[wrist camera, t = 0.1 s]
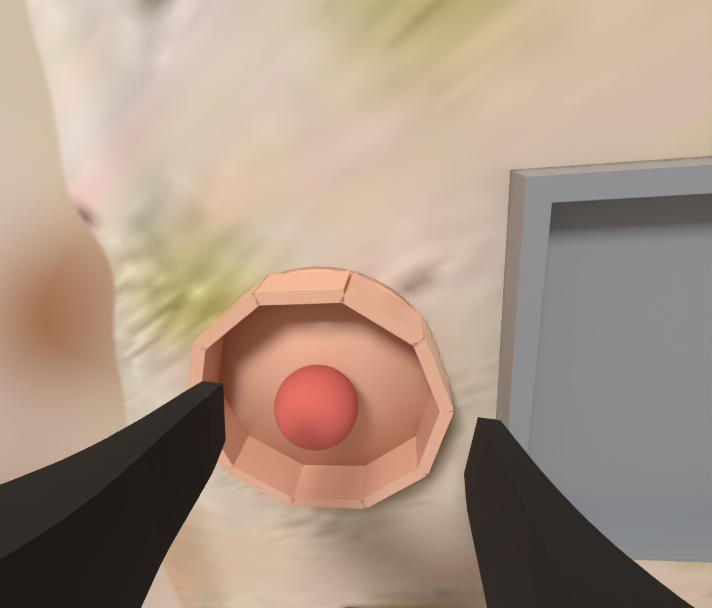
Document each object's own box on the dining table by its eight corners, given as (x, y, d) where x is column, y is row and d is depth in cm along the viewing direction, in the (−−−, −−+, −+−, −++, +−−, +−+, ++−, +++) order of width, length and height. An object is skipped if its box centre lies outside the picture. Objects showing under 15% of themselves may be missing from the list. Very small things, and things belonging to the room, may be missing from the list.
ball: (364, 414, 23) (357, 470, 19) (291, 415, 23) (270, 469, 20) (359, 348, 21) (349, 395, 18) (280, 350, 22) (256, 396, 18)
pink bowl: (446, 464, 25) (452, 511, 22) (233, 461, 26) (212, 504, 23) (447, 261, 20) (455, 284, 17) (188, 272, 22) (154, 296, 19)
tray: (787, 524, 24) (828, 567, 21) (490, 515, 26) (499, 554, 23) (950, 139, 16) (1040, 142, 14) (510, 169, 18) (526, 176, 16)
